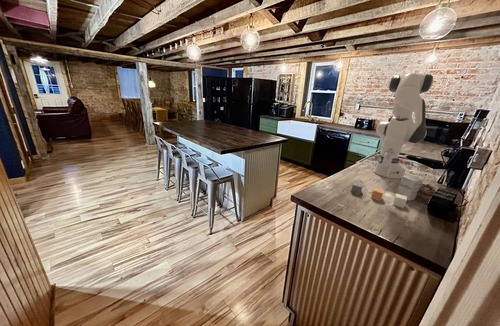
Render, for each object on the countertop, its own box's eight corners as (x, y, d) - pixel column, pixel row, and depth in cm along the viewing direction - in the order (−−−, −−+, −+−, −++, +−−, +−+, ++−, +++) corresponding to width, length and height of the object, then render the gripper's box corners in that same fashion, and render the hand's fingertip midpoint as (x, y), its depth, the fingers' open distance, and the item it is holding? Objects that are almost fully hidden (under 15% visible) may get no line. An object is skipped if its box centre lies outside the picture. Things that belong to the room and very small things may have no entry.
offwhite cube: (404, 204, 113) (406, 196, 111) (403, 207, 109) (406, 199, 107) (393, 201, 116) (396, 193, 114) (392, 204, 112) (395, 196, 110)
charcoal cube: (361, 191, 125) (363, 184, 123) (359, 194, 121) (361, 187, 119) (352, 189, 128) (354, 182, 126) (350, 192, 124) (352, 184, 122)
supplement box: (395, 195, 123) (401, 176, 118) (404, 193, 125) (410, 174, 121) (408, 201, 116) (415, 181, 112) (416, 199, 119) (423, 179, 114)
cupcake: (437, 203, 115) (443, 188, 112) (423, 204, 113) (429, 188, 110) (421, 195, 124) (426, 180, 120) (408, 196, 122) (413, 181, 119)
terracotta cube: (381, 197, 119) (383, 190, 117) (380, 201, 115) (383, 193, 113) (371, 194, 122) (374, 187, 120) (370, 198, 118) (373, 190, 116)
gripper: (398, 152, 98) (389, 178, 102) (399, 145, 114) (391, 168, 118) (382, 149, 101) (375, 174, 106) (386, 143, 117) (379, 165, 122)
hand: (384, 171), depth 112 cm, fingers open, 8 cm apart
